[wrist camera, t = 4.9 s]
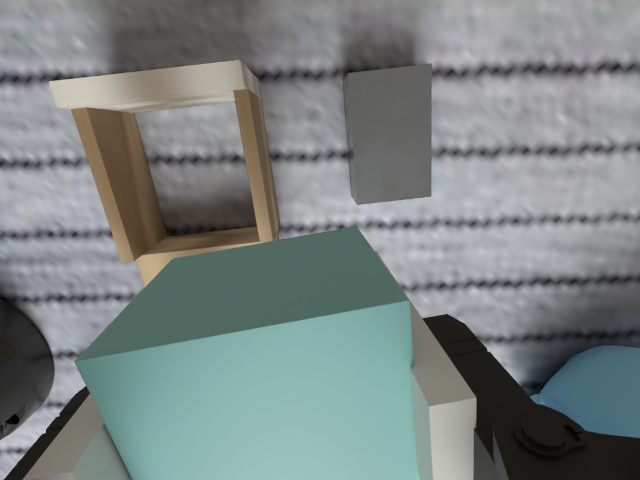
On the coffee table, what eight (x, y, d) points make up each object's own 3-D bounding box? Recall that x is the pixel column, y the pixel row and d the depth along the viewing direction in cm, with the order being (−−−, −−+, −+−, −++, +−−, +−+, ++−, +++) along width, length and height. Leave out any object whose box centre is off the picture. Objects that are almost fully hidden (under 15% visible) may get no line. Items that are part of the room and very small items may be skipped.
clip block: (219, 403, 11) (175, 569, 7) (172, 258, 9) (74, 361, 5) (374, 373, 11) (424, 517, 7) (356, 226, 10) (409, 300, 5)
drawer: (187, 345, 28) (157, 399, 22) (116, 95, 22) (48, 81, 16) (296, 333, 28) (294, 384, 22) (257, 79, 22) (240, 59, 16)
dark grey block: (351, 196, 24) (357, 204, 22) (342, 80, 22) (347, 73, 19) (416, 189, 24) (431, 196, 22) (415, 72, 22) (431, 63, 19)
